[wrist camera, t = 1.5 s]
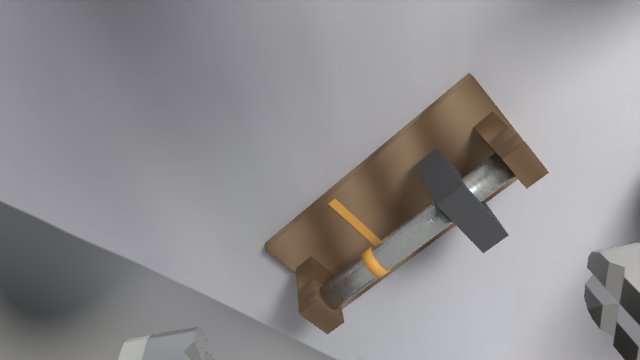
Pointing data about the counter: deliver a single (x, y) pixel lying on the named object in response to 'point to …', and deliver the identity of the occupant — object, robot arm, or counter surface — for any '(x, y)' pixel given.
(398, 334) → the counter surface
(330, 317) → the pipe stand
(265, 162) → the counter surface
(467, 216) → the collar
